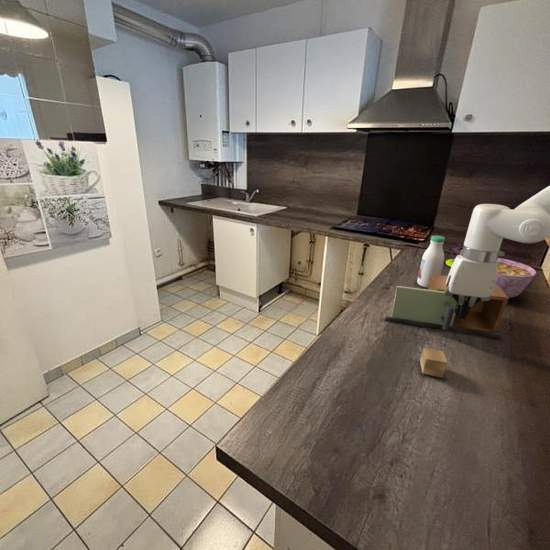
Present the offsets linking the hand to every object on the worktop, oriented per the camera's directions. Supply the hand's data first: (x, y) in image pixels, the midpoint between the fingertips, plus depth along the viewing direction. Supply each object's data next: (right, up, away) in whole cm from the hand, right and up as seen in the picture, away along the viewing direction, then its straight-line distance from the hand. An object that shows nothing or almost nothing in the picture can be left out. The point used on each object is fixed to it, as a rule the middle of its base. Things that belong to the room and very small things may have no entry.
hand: (460, 316), depth 81 cm
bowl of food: (+30, +4, +29) cm, 42 cm away
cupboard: (0, -2, +13) cm, 14 cm away
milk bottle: (+10, +7, +37) cm, 39 cm away
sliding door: (-7, -4, +7) cm, 11 cm away
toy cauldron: (+38, +16, +58) cm, 71 cm away
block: (-13, -12, -10) cm, 20 cm away
